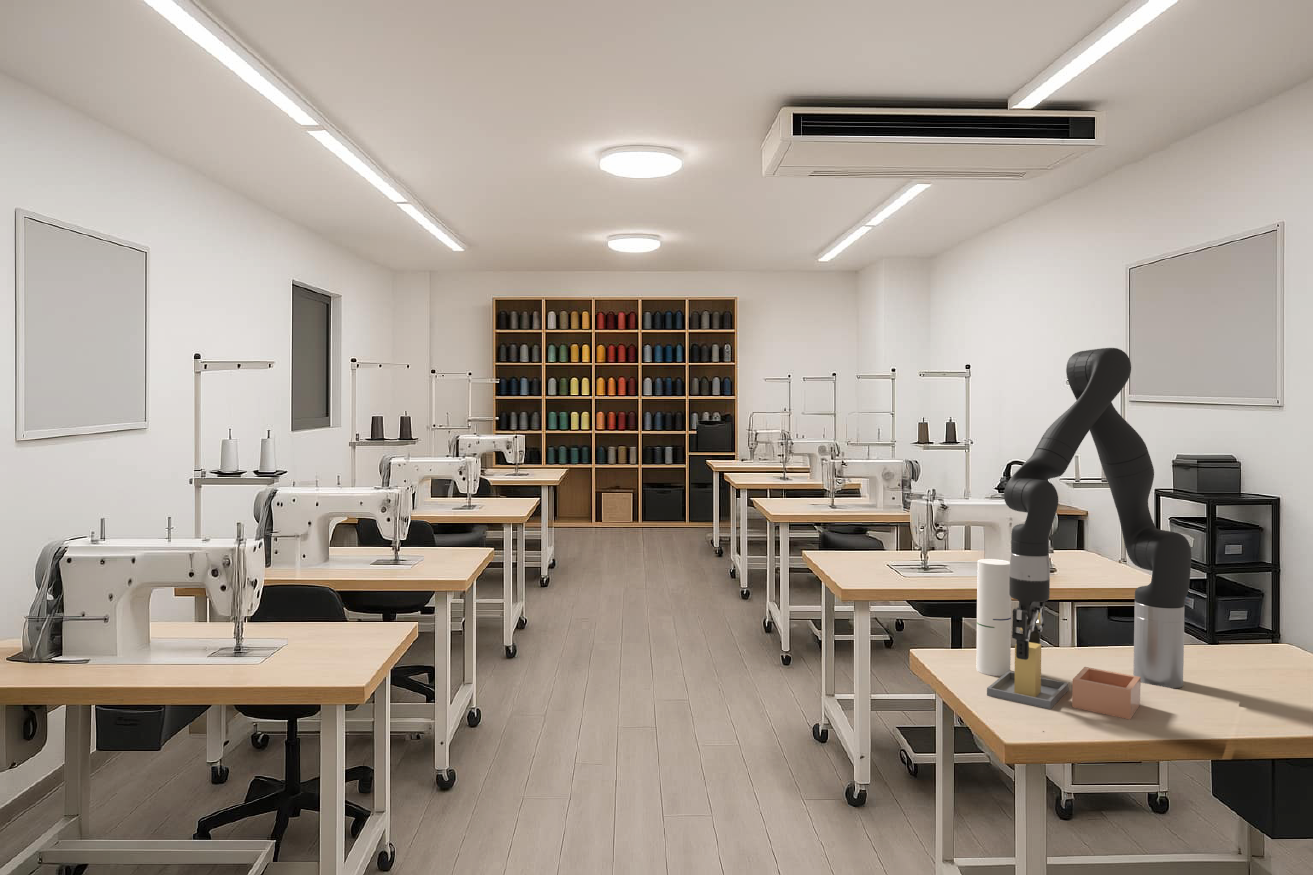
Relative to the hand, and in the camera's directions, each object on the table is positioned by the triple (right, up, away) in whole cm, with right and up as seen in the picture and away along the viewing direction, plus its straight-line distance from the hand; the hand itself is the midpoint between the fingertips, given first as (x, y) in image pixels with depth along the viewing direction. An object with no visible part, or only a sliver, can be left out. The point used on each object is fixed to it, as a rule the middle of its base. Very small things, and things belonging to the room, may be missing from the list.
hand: (1028, 653), depth 166 cm
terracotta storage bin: (+12, -9, -7) cm, 17 cm away
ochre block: (0, -8, 0) cm, 8 cm away
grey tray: (0, -9, 0) cm, 9 cm away
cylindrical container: (0, -9, +17) cm, 19 cm away
